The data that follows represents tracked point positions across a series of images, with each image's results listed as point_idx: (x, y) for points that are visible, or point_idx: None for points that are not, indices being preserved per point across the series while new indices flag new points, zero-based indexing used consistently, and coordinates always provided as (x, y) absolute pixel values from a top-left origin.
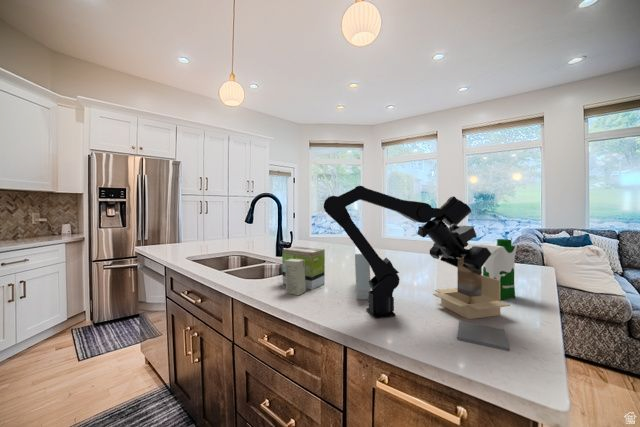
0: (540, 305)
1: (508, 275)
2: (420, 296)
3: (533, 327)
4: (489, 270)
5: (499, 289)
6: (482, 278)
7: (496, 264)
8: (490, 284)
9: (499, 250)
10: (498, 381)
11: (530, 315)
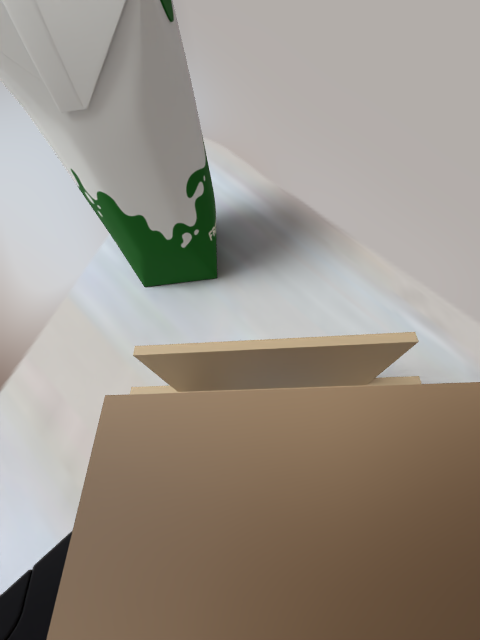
0: (284, 217)
1: (208, 178)
2: None
3: (466, 376)
4: (140, 203)
5: (389, 363)
6: (266, 357)
7: (160, 153)
8: (330, 363)
9: (139, 19)
10: None
11: (356, 298)
